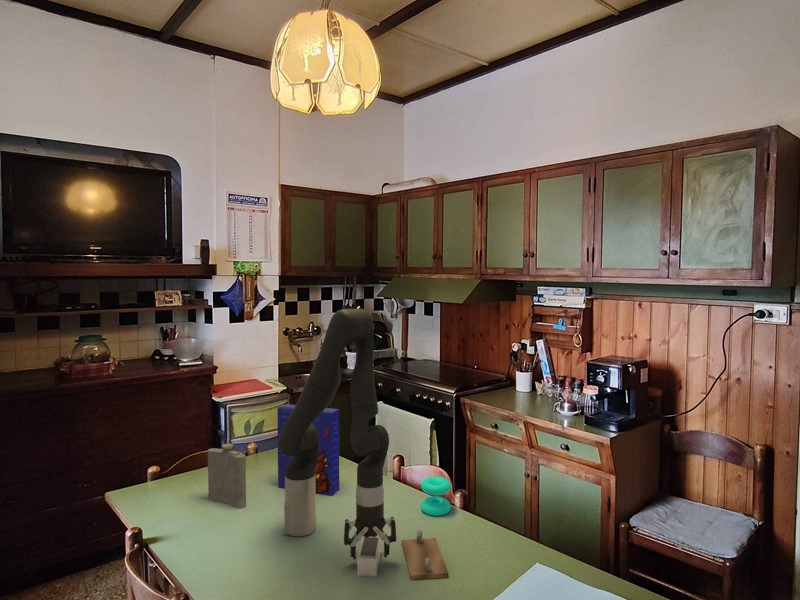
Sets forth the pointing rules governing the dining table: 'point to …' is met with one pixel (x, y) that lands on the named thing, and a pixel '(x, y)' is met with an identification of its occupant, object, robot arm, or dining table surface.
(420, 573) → the pin tray
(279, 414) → the cereal box
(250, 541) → the dining table surface
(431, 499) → the donuts
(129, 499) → the dining table surface
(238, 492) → the hip flask
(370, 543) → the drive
